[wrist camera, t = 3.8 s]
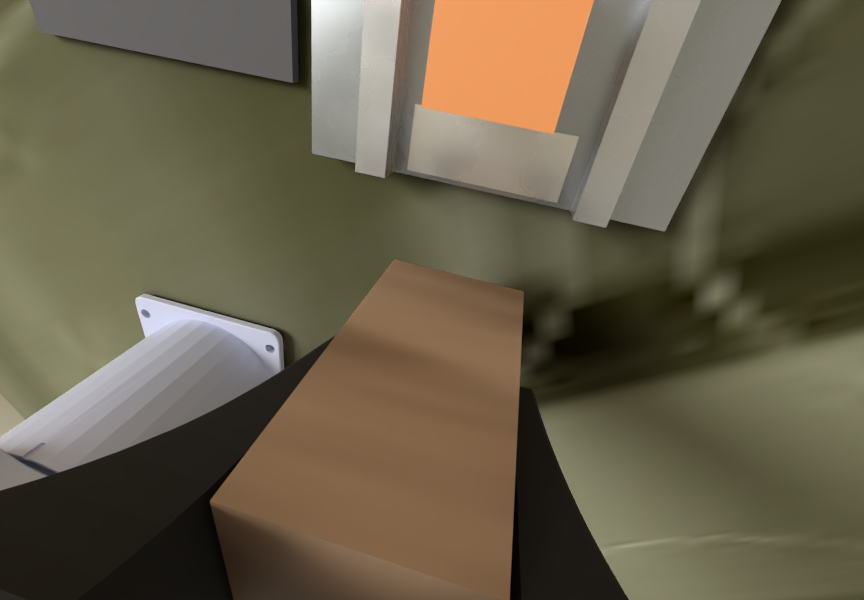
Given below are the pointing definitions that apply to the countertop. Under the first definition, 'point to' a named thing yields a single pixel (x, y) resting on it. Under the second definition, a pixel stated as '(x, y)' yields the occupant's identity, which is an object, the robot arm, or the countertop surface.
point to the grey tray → (580, 114)
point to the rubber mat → (186, 30)
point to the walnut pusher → (388, 455)
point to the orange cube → (504, 59)
